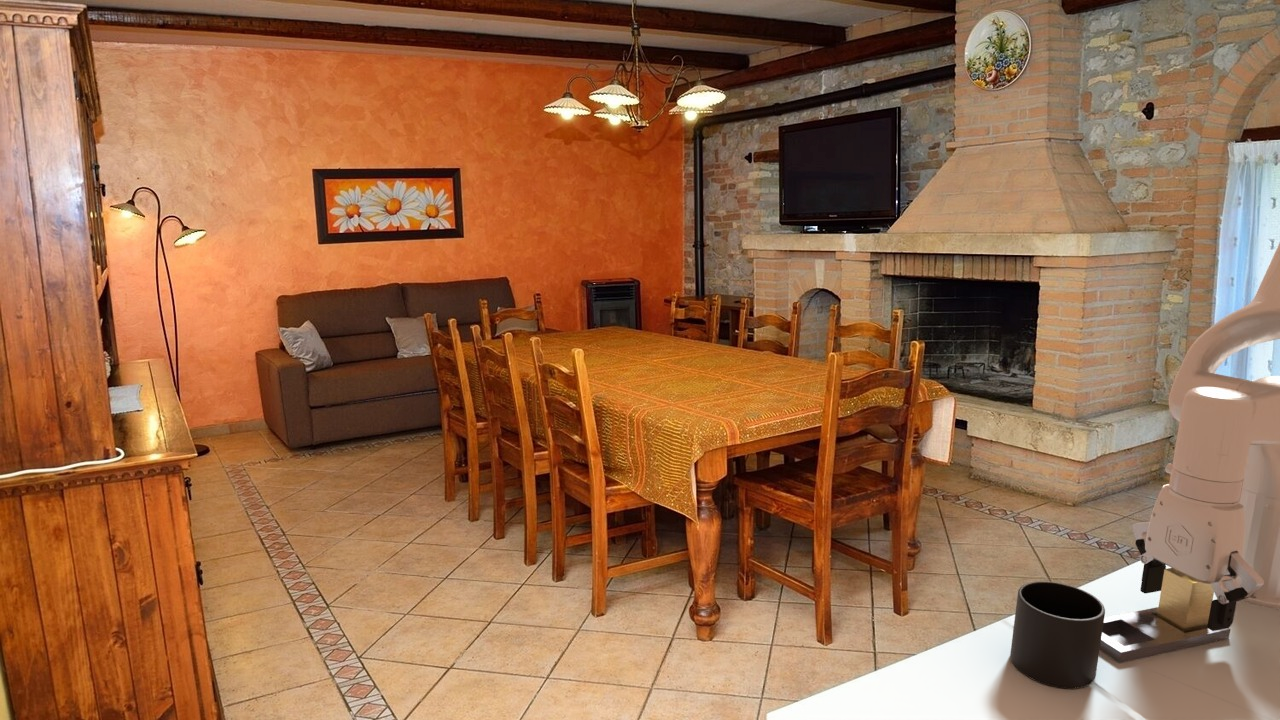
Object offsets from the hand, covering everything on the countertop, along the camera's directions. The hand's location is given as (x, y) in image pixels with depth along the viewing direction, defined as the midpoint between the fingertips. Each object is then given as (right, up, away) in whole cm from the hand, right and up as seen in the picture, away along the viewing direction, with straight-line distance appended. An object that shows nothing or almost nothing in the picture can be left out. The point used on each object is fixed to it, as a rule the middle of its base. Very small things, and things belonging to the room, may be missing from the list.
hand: (1183, 609), depth 109 cm
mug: (-19, -5, -6) cm, 21 cm away
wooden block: (0, -3, +1) cm, 3 cm away
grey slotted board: (-5, -4, -1) cm, 6 cm away
